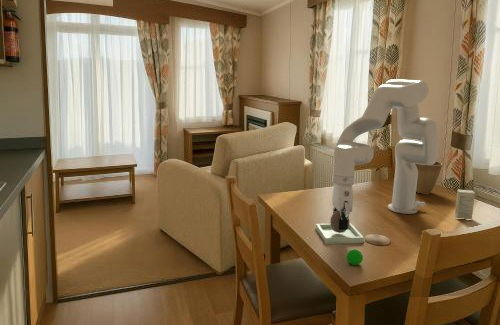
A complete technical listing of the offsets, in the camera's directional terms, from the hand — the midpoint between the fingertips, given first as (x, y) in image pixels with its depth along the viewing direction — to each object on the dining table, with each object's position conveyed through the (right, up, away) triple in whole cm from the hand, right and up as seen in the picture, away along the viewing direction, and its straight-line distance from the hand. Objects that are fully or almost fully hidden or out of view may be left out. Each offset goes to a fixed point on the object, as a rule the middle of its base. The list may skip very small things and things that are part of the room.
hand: (339, 225), depth 154 cm
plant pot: (+56, +8, +59) cm, 81 cm away
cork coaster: (+13, -5, -3) cm, 14 cm away
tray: (0, -4, +1) cm, 4 cm away
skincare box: (+57, -1, +22) cm, 61 cm away
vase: (0, -2, 0) cm, 2 cm away
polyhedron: (0, -9, -22) cm, 24 cm away
